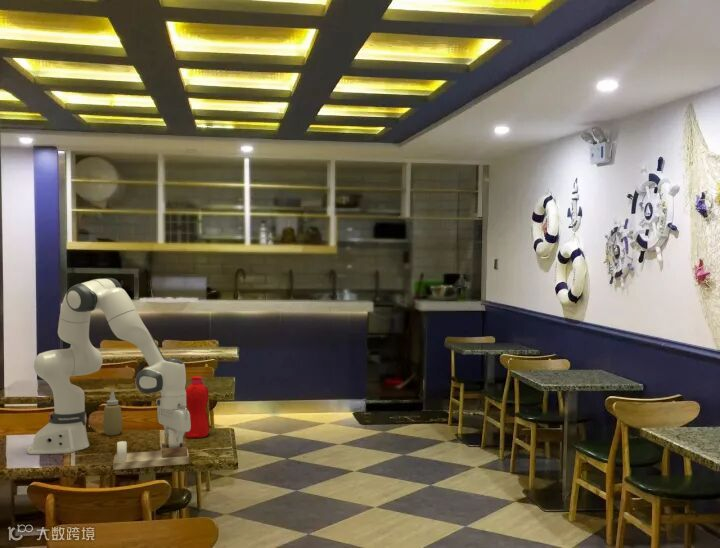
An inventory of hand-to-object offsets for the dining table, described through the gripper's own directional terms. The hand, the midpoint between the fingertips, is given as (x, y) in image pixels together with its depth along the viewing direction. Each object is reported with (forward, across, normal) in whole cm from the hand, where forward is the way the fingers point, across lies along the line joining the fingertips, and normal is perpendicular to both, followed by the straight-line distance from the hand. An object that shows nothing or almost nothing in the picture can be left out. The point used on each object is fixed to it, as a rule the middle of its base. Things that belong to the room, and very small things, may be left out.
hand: (174, 440), depth 261 cm
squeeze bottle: (+8, +54, +2) cm, 55 cm away
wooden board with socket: (+8, +3, +7) cm, 11 cm away
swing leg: (+5, +6, +17) cm, 19 cm away
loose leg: (+5, 0, 0) cm, 5 cm away
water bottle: (+8, +27, -24) cm, 37 cm away
